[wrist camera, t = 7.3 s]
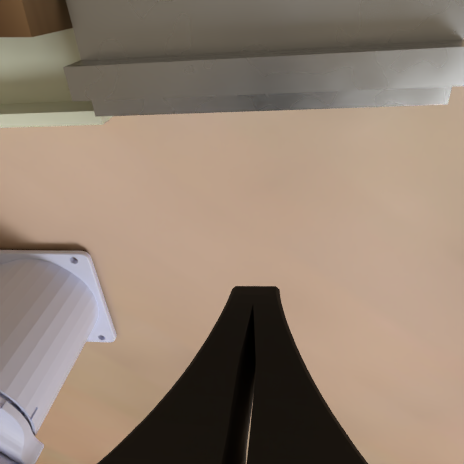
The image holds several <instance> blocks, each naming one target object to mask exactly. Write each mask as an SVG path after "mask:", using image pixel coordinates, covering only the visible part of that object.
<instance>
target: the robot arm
mask: <svg viewBox="0 0 464 464" xmlns="http://www.w3.org/2000/svg"><path fill="white" fill-rule="evenodd" d="M73 257H75V258H76V259H77V260H75V259H74V258H73ZM115 338H116V332H115V329H114V326H113V323H112V320H111V317H110V314H109V311H108V308H107V304H106V301H105V298H104V295H103V292H102V289H101V286H100V283H99V280H98V277H97V274H96V271H95V268H94V265H93V262H92V258H91V256H90V255H89V254H88V253H87V252H85V251H57V250H0V464H35V463H36V461H37V459H38V457H39V455H40V453H41V451H42V449H43V447H44V444H43V443H42V442H40V441H39V440H38V439H37V438H36V437H35V436H36V434H37V432H38V430H39V428H40V427H41V425H42V423H43V421H44V419H45V417H46V415H47V413H48V412H49V410H50V408H51V406H52V404H53V402H54V400H55V399H56V397H57V395H58V393H59V391H60V389H61V387H62V385H63V384H64V382H65V380H66V378H67V376H68V374H69V372H70V371H71V369H72V367H73V365H74V363H75V361H76V359H77V358H78V356H79V354H80V352H81V350H82V348H83V346H84V344H85V343H86V341H90V342H113V341H114V340H115ZM253 395H254V396H253ZM252 402H253V407H252ZM251 409H252V417H251V428H250V438H249V448H248V457H247V464H368V463H367V462H366V460H365V459H364V458H363V456H362V455H361V454H360V452H359V451H358V450H357V448H356V447H355V445H354V444H353V443H352V441H351V440H350V438H349V437H348V435H347V434H346V432H345V431H344V429H343V428H342V427H341V425H340V424H339V422H338V421H337V419H336V418H335V416H334V415H333V413H332V412H331V410H330V408H329V407H328V405H327V403H326V402H325V400H324V398H323V397H322V395H321V393H320V392H319V390H318V388H317V386H316V385H315V383H314V381H313V379H312V377H311V375H310V373H309V371H308V370H307V368H306V366H305V363H304V361H303V359H302V357H301V355H300V353H299V351H298V349H297V346H296V344H295V342H294V339H293V337H292V334H291V332H290V329H289V326H288V324H287V321H286V318H285V315H284V311H283V308H282V304H281V299H280V291H279V289H278V288H277V287H276V286H236V287H234V288H233V289H232V291H231V294H230V296H229V299H228V301H227V303H226V305H225V307H224V309H223V311H222V313H221V315H220V317H219V319H218V321H217V322H216V324H215V326H214V328H213V329H212V331H211V333H210V334H209V336H208V338H207V339H206V341H205V343H204V344H203V346H202V347H201V349H200V350H199V352H198V353H197V355H196V356H195V358H194V359H193V361H192V362H191V363H190V365H189V366H188V368H187V369H186V370H185V372H184V373H183V374H182V376H181V377H180V378H179V380H178V381H177V382H176V383H175V385H174V386H173V387H172V388H171V390H170V391H169V392H168V393H167V394H166V395H165V397H164V398H163V399H162V400H161V401H160V402H159V403H158V405H157V406H156V407H155V408H154V409H153V410H152V411H151V412H150V413H149V415H148V416H147V417H146V418H145V419H144V420H143V421H142V422H141V423H140V424H139V425H138V426H137V427H136V428H135V429H134V430H133V431H132V432H131V433H130V434H129V435H128V436H127V437H126V438H125V439H124V440H123V441H122V442H121V443H120V444H119V445H118V446H117V447H115V448H114V449H113V450H112V451H111V452H110V453H109V454H108V455H107V456H106V457H104V458H103V459H102V460H101V461H100V462H99V463H97V464H246V449H247V439H248V431H249V424H250V416H251Z"/></svg>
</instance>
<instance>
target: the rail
mask: <svg viewBox="0 0 464 464" xmlns="http://www.w3.org/2000/svg"><path fill="white" fill-rule="evenodd" d="M66 3H67V7H68V11H69V15H70V19H71V23H72V27H73V30H74V34H75V38H76V42H77V46H78V50H79V54H80V58H81V60H80V61H77V62H75V63H72V64H70V65H67V66H65V67H63V69H64V73H65V76H66V80H67V83H68V87H69V90H70V94H71V97H72V101H73V102H74V101H92V105H93V109H94V113H95V117H97V116H126V115H155V114H184V113H213V112H243V111H272V110H301V109H330V108H359V107H388V106H417V105H446V104H448V101H449V97H450V93H451V89H452V87H453V86H464V40H463V38H464V0H66Z"/></svg>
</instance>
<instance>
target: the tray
mask: <svg viewBox="0 0 464 464" xmlns="http://www.w3.org/2000/svg"><path fill="white" fill-rule="evenodd" d="M80 60H81V58H80V54H79V50H78V46H77V42H76V38H75V34H74V30H73V28H71V29H66V30H62V31H57V32H53V33H48V34H44V35H40V36H35V37H0V128H12V127H43V126H75V125H103V124H104V123H106V122H107V121H108V120H109V119H110V118H112V117H113V116H97V117H95V113H94V109H93V105H92V101H74V102H73V101H72V97H71V94H70V90H69V87H68V83H67V80H66V76H65V73H64V69H63V67H65V66H67V65H70V64H72V63H75V62H77V61H80Z"/></svg>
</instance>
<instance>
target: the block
mask: <svg viewBox="0 0 464 464" xmlns="http://www.w3.org/2000/svg"><path fill="white" fill-rule="evenodd" d="M71 28H73V27H72V23H71V19H70V15H69V11H68V7H67V3H66V0H0V37H35V36H40V35H44V34H48V33H53V32H57V31H62V30H66V29H71Z"/></svg>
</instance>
